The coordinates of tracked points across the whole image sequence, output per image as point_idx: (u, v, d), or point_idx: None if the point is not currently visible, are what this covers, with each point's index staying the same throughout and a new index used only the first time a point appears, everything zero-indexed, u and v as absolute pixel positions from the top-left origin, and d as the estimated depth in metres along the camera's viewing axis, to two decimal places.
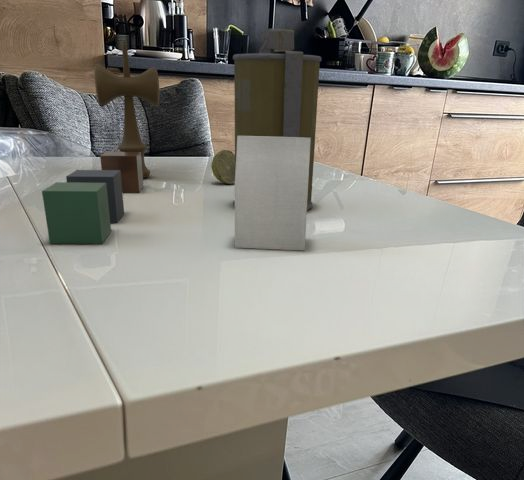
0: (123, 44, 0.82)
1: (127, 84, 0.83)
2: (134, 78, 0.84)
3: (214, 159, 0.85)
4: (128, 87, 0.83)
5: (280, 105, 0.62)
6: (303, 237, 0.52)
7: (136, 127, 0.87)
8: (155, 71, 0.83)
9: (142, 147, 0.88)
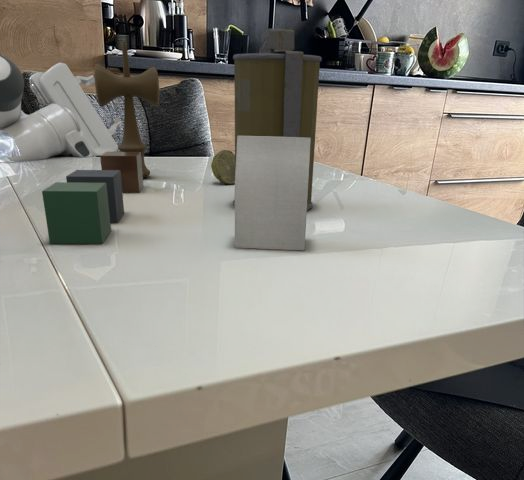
0: (123, 44, 0.82)
1: (127, 84, 0.83)
2: (134, 78, 0.84)
3: (214, 159, 0.85)
4: (128, 87, 0.83)
5: (280, 105, 0.62)
6: (303, 237, 0.52)
7: (136, 127, 0.87)
8: (155, 71, 0.83)
9: (142, 147, 0.88)
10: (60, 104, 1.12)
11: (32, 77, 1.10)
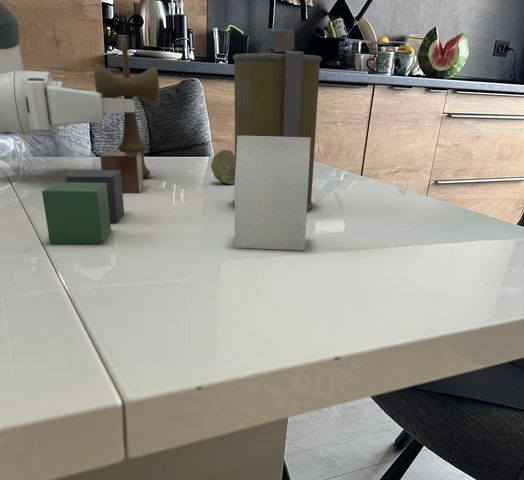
0: (123, 44, 0.82)
1: (127, 84, 0.83)
2: (134, 78, 0.84)
3: (214, 159, 0.85)
4: (128, 87, 0.83)
5: (280, 105, 0.62)
6: (303, 237, 0.52)
7: (136, 127, 0.87)
8: (155, 71, 0.83)
9: (142, 147, 0.88)
10: None
11: None
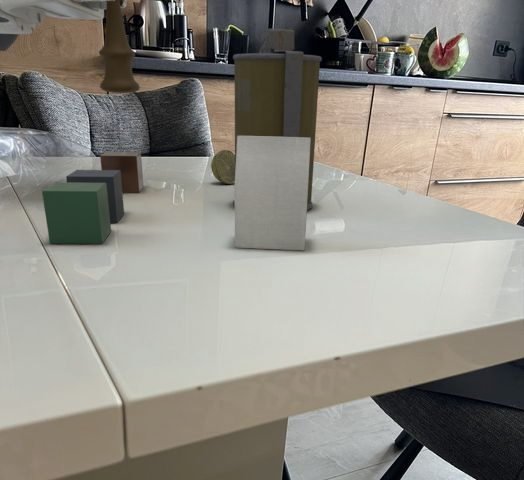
0: None
1: None
2: None
3: (214, 159, 0.85)
4: None
5: (280, 105, 0.62)
6: (303, 237, 0.52)
7: (120, 25, 0.69)
8: None
9: (125, 50, 0.70)
10: None
11: None
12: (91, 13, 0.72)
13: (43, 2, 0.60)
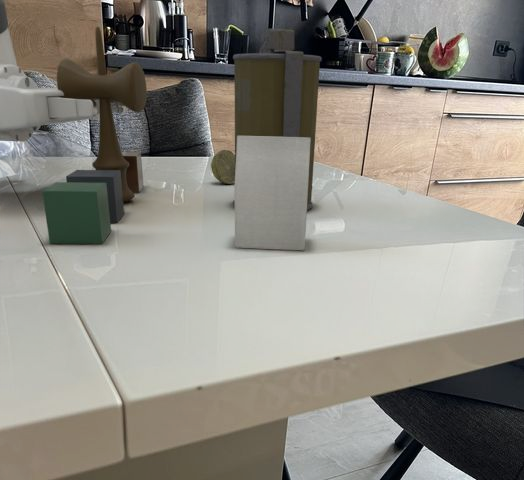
0: (96, 32, 0.64)
1: (97, 84, 0.65)
2: (107, 76, 0.65)
3: (214, 159, 0.85)
4: (98, 88, 0.65)
5: (280, 105, 0.62)
6: (303, 237, 0.52)
7: (112, 139, 0.68)
8: (131, 67, 0.63)
9: (117, 164, 0.68)
10: None
11: None
12: (88, 118, 0.71)
13: (24, 127, 0.60)
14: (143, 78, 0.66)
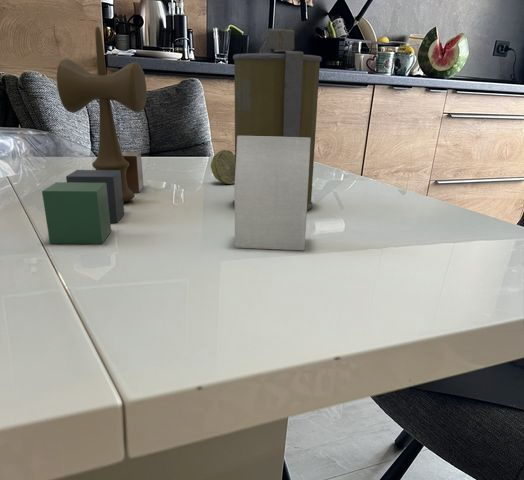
0: (96, 32, 0.64)
1: (97, 84, 0.65)
2: (107, 76, 0.65)
3: (214, 159, 0.85)
4: (98, 88, 0.65)
5: (280, 105, 0.62)
6: (303, 237, 0.52)
7: (112, 139, 0.68)
8: (131, 67, 0.63)
9: (117, 164, 0.68)
10: None
11: None
12: None
13: None
14: (143, 78, 0.66)
